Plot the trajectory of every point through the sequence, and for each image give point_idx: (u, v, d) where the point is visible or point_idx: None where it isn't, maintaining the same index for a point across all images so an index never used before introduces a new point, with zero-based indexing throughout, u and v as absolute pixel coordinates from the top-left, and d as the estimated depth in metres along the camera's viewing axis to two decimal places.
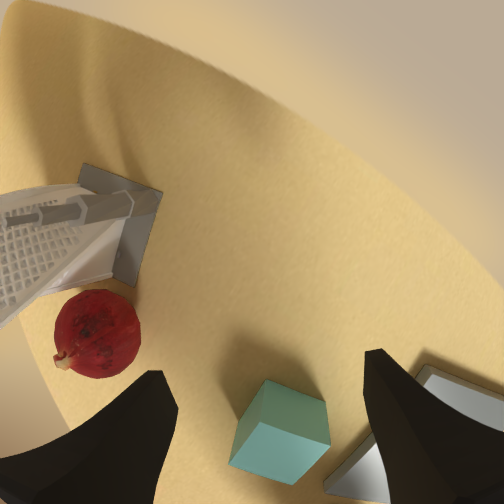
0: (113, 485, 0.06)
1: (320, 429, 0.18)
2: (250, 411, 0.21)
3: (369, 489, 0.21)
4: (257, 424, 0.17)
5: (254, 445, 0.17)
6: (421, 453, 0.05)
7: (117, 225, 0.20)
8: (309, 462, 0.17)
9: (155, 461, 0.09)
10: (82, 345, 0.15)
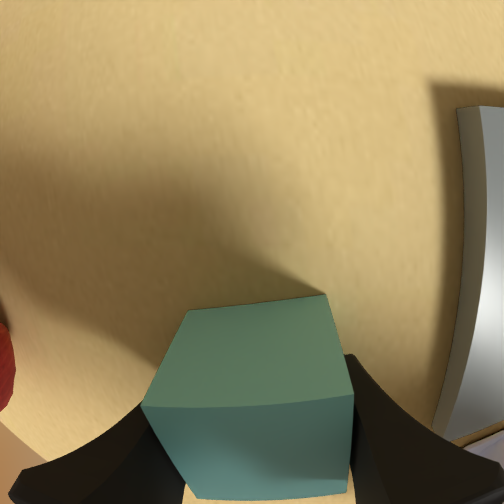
0: (146, 492, 0.06)
1: (317, 360, 0.08)
2: None
3: None
4: (145, 413, 0.07)
5: (189, 457, 0.07)
6: (373, 465, 0.05)
7: None
8: (337, 448, 0.07)
9: None
10: None
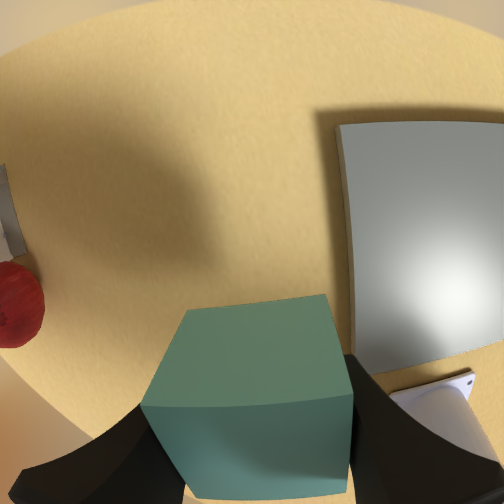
0: (146, 492, 0.06)
1: (317, 360, 0.08)
2: None
3: (413, 344, 0.17)
4: (144, 413, 0.07)
5: (189, 456, 0.07)
6: (373, 465, 0.05)
7: None
8: (336, 447, 0.07)
9: None
10: None
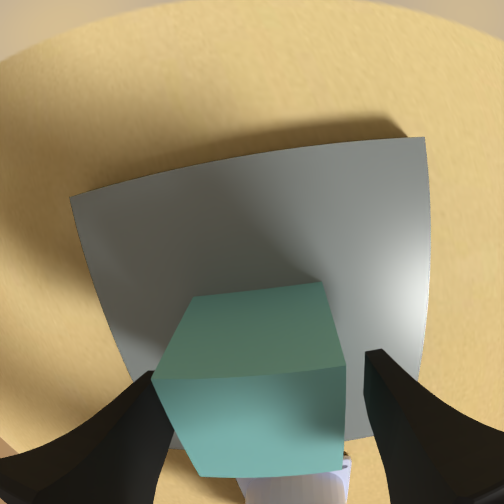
0: (113, 485, 0.06)
1: (313, 338, 0.08)
2: None
3: None
4: (154, 387, 0.08)
5: (194, 430, 0.08)
6: (421, 453, 0.05)
7: None
8: (332, 421, 0.08)
9: (155, 461, 0.09)
10: None
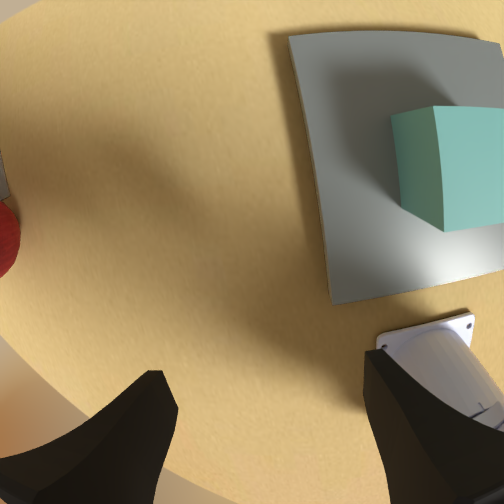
0: (113, 485, 0.06)
1: None
2: (407, 159, 0.13)
3: (395, 264, 0.17)
4: (433, 114, 0.10)
5: (453, 159, 0.10)
6: (421, 453, 0.05)
7: None
8: None
9: (155, 461, 0.09)
10: None
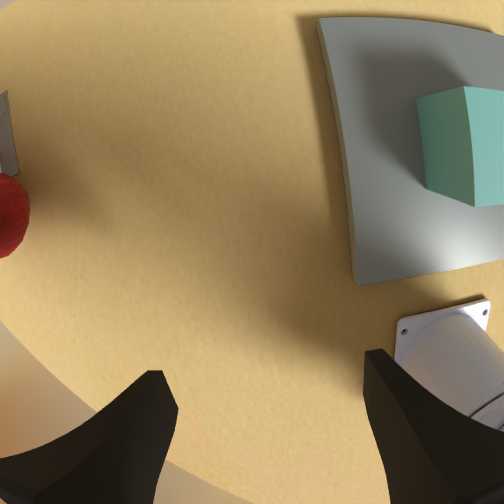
0: (113, 485, 0.06)
1: None
2: (434, 140, 0.13)
3: (419, 245, 0.16)
4: (464, 93, 0.09)
5: (482, 137, 0.10)
6: (421, 453, 0.05)
7: None
8: None
9: (155, 461, 0.09)
10: None
